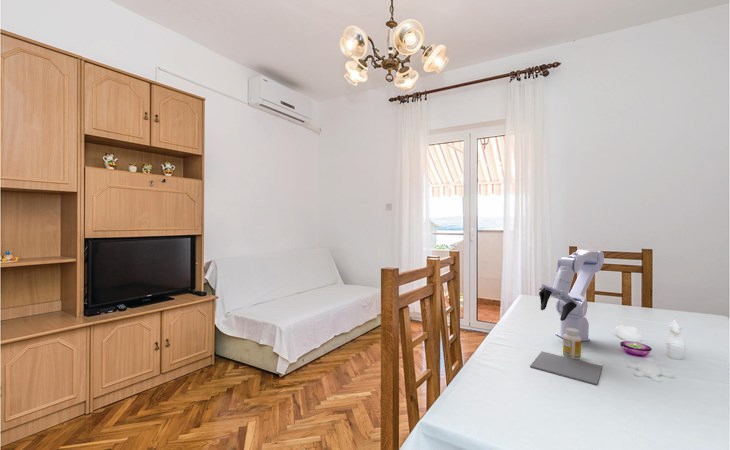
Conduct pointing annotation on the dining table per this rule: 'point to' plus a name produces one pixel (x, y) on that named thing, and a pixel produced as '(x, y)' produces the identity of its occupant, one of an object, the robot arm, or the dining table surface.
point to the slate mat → (568, 367)
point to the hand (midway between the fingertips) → (552, 314)
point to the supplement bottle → (572, 343)
